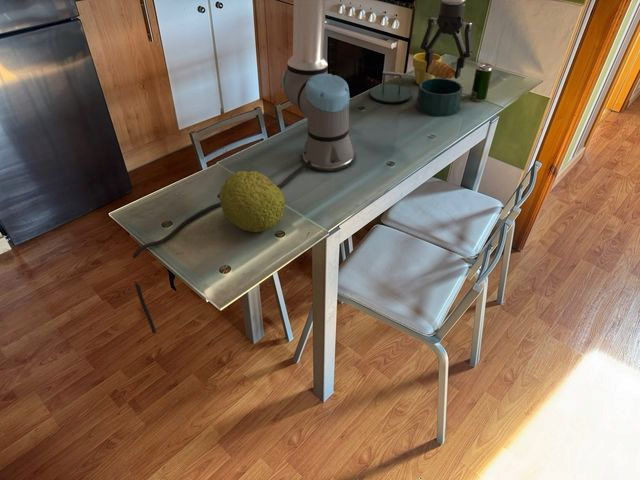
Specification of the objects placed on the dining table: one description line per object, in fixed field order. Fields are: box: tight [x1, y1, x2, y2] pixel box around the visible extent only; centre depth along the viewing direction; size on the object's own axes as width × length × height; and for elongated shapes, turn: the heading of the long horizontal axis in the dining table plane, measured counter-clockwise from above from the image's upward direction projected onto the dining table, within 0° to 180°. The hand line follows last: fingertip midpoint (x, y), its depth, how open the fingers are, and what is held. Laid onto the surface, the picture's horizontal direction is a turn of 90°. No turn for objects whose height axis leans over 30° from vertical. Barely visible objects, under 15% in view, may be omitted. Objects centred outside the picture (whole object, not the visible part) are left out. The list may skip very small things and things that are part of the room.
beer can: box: [470, 62, 493, 103], centre depth 165 cm, size 5×5×12 cm
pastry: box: [427, 61, 456, 80], centre depth 156 cm, size 9×7×4 cm
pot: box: [416, 77, 464, 117], centre depth 162 cm, size 14×14×8 cm
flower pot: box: [412, 52, 442, 86], centre depth 179 cm, size 10×10×10 cm
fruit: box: [219, 170, 286, 233], centre depth 112 cm, size 16×14×15 cm
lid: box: [369, 70, 413, 104], centre depth 170 cm, size 15×15×9 cm
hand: (442, 74), depth 157 cm, fingers closed on pastry, 10 cm apart
